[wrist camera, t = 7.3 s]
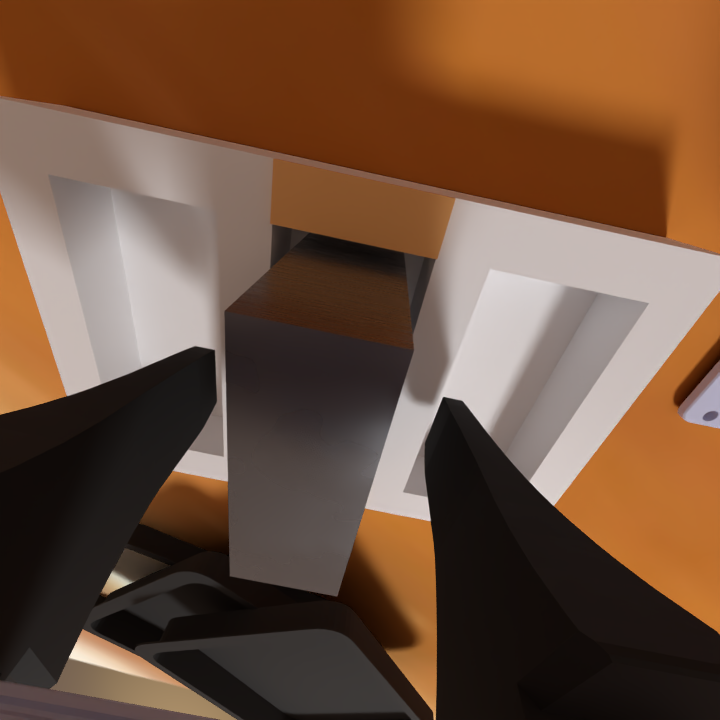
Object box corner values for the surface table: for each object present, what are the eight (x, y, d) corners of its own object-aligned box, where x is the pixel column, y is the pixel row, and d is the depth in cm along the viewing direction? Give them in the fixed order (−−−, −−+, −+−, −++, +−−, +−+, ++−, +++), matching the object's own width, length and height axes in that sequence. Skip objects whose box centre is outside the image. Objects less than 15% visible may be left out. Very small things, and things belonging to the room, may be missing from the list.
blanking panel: (403, 247, 11) (414, 350, 5) (359, 425, 16) (337, 596, 10) (314, 228, 11) (224, 310, 5) (293, 412, 15) (229, 576, 9)
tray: (81, 612, 30) (28, 690, 26) (75, 439, 19) (-23, 527, 14) (388, 695, 34) (388, 775, 30) (539, 595, 23) (574, 701, 18)
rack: (667, 238, 11) (749, 262, 9) (509, 487, 18) (528, 544, 15) (63, 105, 11) (-42, 90, 8) (129, 411, 17) (82, 457, 15)
